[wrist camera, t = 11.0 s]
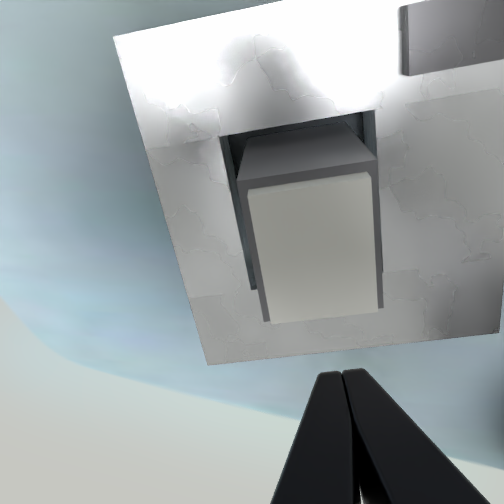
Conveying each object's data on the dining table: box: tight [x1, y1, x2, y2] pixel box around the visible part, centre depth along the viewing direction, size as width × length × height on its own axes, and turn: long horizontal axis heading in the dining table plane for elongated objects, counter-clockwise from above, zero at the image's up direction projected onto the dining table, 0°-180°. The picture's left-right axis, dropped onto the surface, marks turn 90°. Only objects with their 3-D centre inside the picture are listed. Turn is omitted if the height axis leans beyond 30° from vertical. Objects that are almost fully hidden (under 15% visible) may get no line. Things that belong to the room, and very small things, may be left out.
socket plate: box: [113, 0, 504, 365], centre depth 17 cm, size 14×13×3 cm
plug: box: [237, 122, 384, 324], centre depth 16 cm, size 5×4×7 cm
